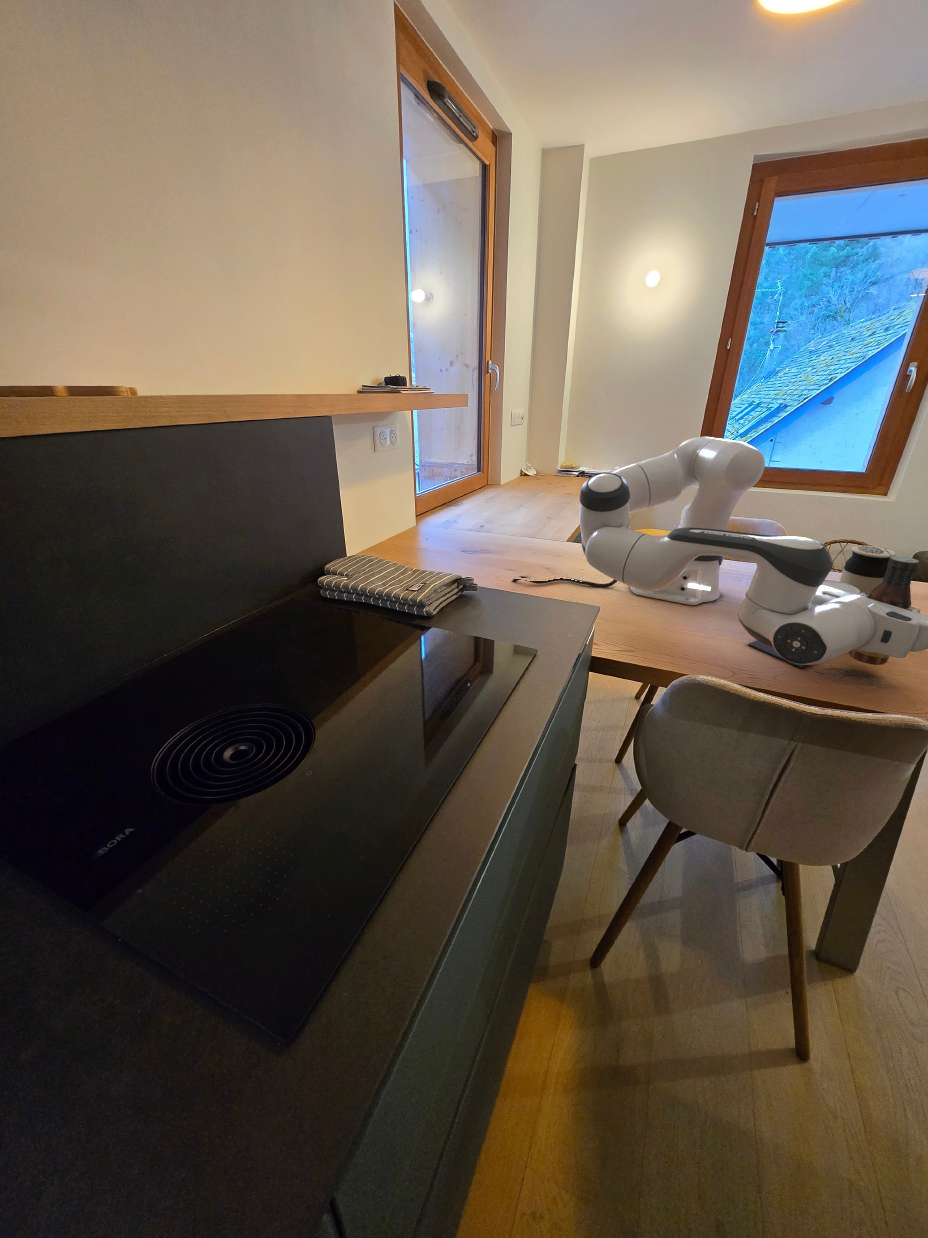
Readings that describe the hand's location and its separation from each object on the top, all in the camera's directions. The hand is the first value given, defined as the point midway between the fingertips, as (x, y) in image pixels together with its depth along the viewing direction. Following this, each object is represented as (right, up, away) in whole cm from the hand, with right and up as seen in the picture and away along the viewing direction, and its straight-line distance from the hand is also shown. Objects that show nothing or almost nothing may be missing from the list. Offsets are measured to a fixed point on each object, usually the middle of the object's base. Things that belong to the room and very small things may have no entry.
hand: (889, 604), depth 90 cm
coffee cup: (0, -7, +18) cm, 19 cm away
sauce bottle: (-1, -10, +5) cm, 11 cm away
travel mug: (+10, -4, +23) cm, 26 cm away
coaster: (-10, -9, +13) cm, 19 cm away
